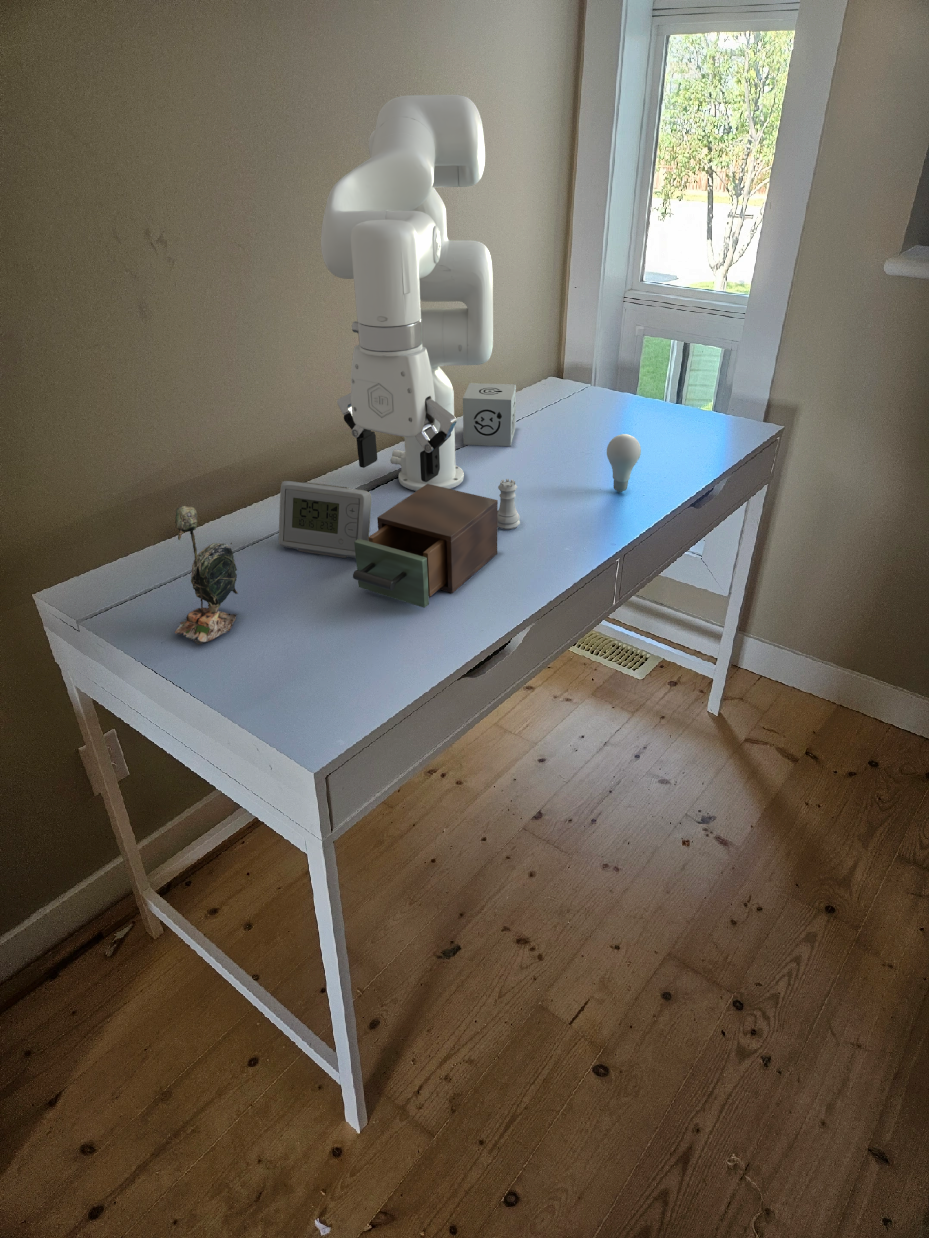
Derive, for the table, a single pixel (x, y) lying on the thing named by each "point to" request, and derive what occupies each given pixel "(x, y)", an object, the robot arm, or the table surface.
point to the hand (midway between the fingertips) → (398, 471)
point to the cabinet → (451, 527)
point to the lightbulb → (623, 459)
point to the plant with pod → (207, 583)
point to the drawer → (401, 564)
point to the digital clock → (323, 518)
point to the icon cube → (489, 414)
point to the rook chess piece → (507, 506)
